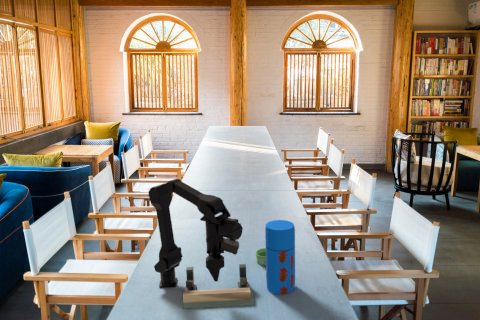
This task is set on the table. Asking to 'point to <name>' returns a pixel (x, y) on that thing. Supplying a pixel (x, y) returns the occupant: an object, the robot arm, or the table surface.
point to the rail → (216, 295)
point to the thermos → (280, 256)
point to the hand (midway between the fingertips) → (216, 275)
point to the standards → (192, 287)
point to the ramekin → (261, 256)
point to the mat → (219, 303)
